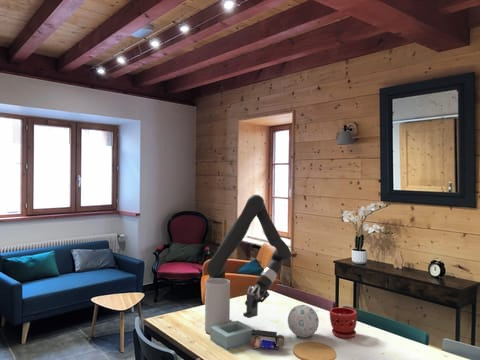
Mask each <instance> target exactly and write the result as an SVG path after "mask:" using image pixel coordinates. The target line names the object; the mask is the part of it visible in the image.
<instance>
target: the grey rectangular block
mask: <svg viewBox="0 0 480 360" xmlns="http://www.w3.org/2000/svg"><path fill="white" fill-rule="evenodd" d="M246 294H247V295H246V300H247V306H246V310H245V311H246V312H243V316H242V317H244V318H248V319H251V318H253V317H254V318H255V317H258V311H259V309H258V305H259V303H258V304H257V305H256V307H255V308H252V307H251V305H252V303H253V302H254V300H255V299H256V297H257V293H254V292H253V293H252V292H251V293H246Z"/></svg>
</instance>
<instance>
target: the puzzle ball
mask: <svg viewBox="0 0 480 360" xmlns="http://www.w3.org/2000/svg"><path fill="white" fill-rule="evenodd" d="M319 323H320V321H319V316H318V313H317V312H316V311H315V309H313V307H311V306H309V305H306V304H299V305H296V306H294V307H293V308H292V309H290V312H289V313H288V316H287V324H288V328H289V330H290V331H291V332H292V333H293V334H294V335H296V336H297V337H300V338H309V337H311V336H313V335H314V334H315V333H316V332H317V330H318V328H319Z"/></svg>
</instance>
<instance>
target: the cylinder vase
mask: <svg viewBox="0 0 480 360" xmlns="http://www.w3.org/2000/svg"><path fill="white" fill-rule="evenodd" d="M204 289H205V290H204V293H205V294H204V296H205V297H204V301H205V302H204V303H205V304H204V330H205V333H207V334H210V327H213V326H217V325H221V324H225V323H230V320H231V319H230V317H231V316H230V313H231V312H230V311H231V310H230V309H231V308H230V307H231V305H230V302H231V301H230V300H231V281H230V280H229V279H227V278H225V279H222V278H214V279H209V278H208V279H206V280H205V287H204Z"/></svg>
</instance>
